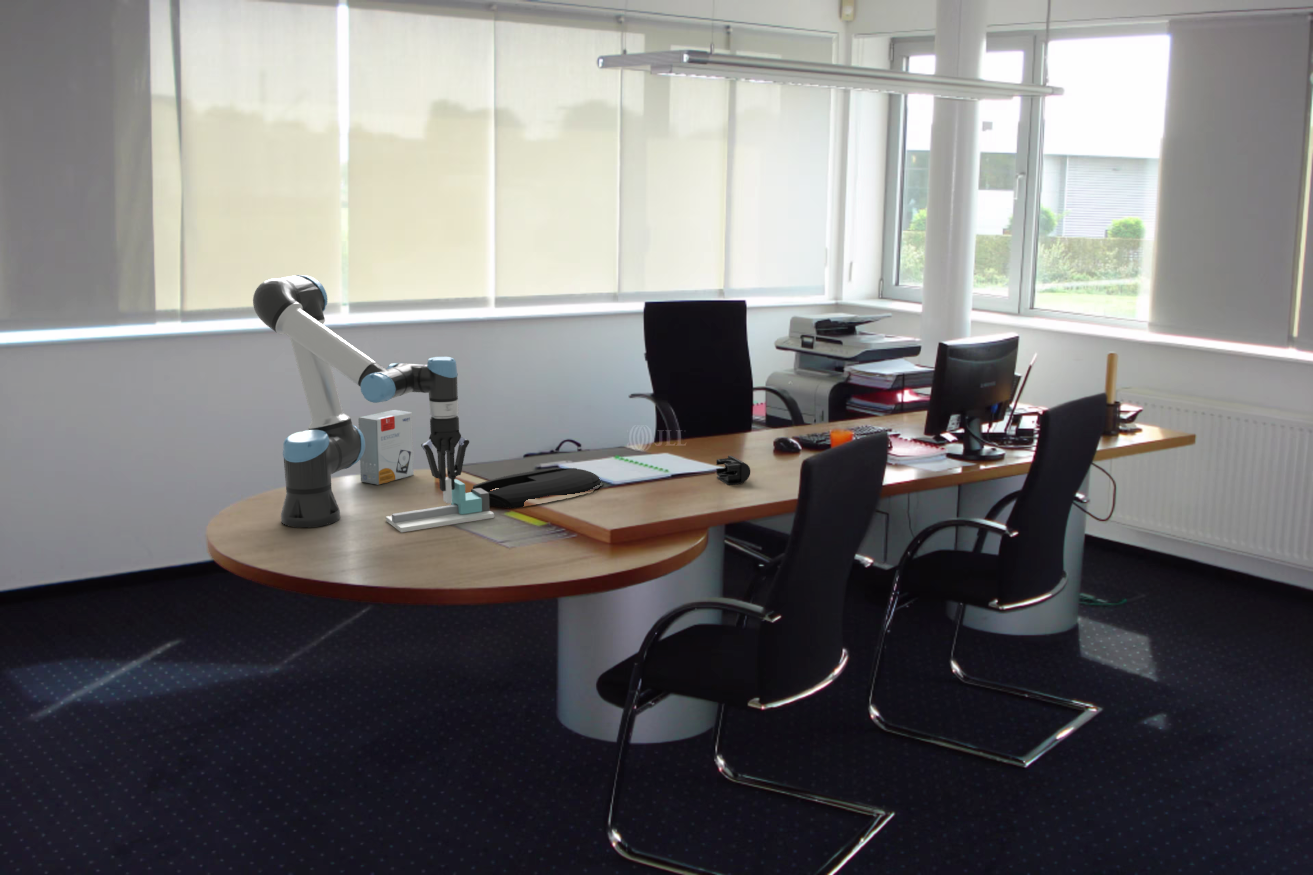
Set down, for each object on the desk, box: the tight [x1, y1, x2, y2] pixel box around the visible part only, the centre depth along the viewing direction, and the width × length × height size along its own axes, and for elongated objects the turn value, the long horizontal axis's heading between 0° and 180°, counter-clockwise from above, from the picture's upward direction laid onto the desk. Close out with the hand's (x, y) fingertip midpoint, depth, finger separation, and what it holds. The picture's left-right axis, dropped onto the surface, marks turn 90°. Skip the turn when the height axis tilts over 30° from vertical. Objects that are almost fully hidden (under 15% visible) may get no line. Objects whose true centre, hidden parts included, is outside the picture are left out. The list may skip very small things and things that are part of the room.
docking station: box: [470, 467, 602, 509], centre depth 346 cm, size 25×41×5 cm, turn 129°
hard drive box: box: [357, 409, 415, 486], centre depth 358 cm, size 16×8×20 cm, turn 148°
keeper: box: [450, 478, 482, 515], centre depth 321 cm, size 6×7×8 cm
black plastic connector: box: [715, 455, 751, 486], centre depth 358 cm, size 10×7×7 cm
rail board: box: [385, 488, 495, 533], centre depth 318 cm, size 26×12×6 cm, turn 121°
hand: (447, 501), depth 318 cm, fingers closed
